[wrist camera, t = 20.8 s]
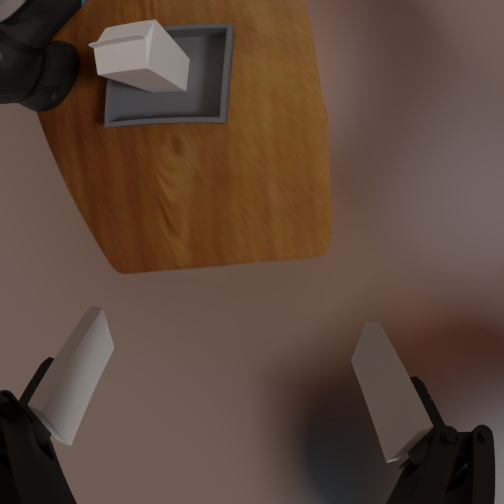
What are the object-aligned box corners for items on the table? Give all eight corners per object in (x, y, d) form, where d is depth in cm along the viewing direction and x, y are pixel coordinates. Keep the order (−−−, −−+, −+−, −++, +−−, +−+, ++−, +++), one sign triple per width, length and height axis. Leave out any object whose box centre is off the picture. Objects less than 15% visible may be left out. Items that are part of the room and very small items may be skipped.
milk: (155, 61, 36) (91, 19, 16) (190, 59, 36) (146, 7, 16) (152, 93, 38) (81, 71, 18) (187, 92, 39) (136, 61, 18)
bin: (117, 127, 41) (104, 127, 36) (124, 42, 34) (113, 35, 30) (227, 123, 42) (224, 122, 37) (234, 33, 35) (233, 23, 30)
